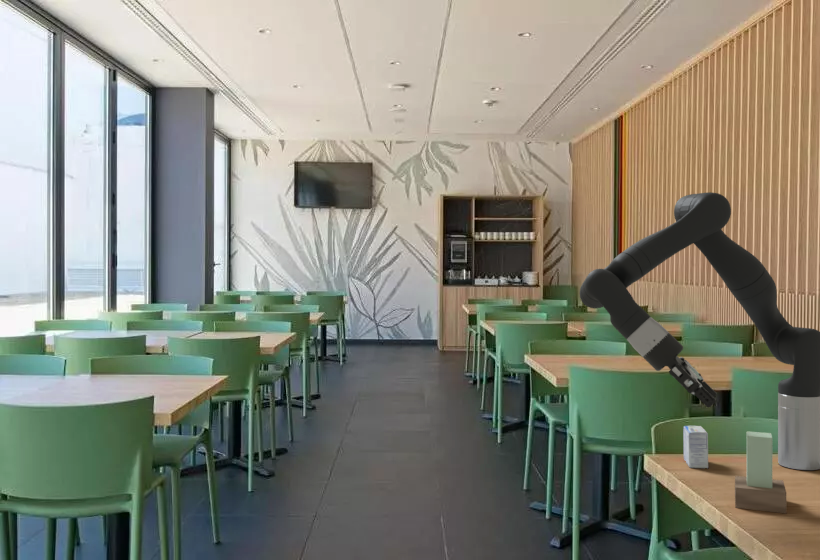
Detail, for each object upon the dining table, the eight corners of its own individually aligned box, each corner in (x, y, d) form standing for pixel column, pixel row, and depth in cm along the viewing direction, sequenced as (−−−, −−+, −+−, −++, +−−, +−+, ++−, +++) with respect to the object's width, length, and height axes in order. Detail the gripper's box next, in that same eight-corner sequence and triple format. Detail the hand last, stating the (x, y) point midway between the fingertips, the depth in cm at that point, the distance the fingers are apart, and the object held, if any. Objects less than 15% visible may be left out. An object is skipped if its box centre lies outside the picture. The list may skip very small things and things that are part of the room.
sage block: (746, 479, 148) (746, 431, 148) (770, 482, 147) (771, 433, 147) (747, 485, 144) (747, 435, 144) (772, 488, 143) (772, 437, 142)
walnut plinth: (734, 494, 152) (734, 475, 152) (783, 499, 148) (783, 480, 148) (735, 507, 143) (735, 487, 143) (786, 513, 140) (786, 492, 140)
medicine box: (708, 469, 171) (708, 432, 171) (688, 468, 172) (688, 431, 172) (702, 460, 179) (702, 425, 179) (683, 459, 180) (683, 425, 180)
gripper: (665, 334, 146) (727, 394, 142) (670, 328, 159) (727, 383, 155) (637, 359, 148) (698, 419, 144) (644, 352, 161) (700, 406, 157)
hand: (713, 400), depth 149 cm, fingers open, 8 cm apart
